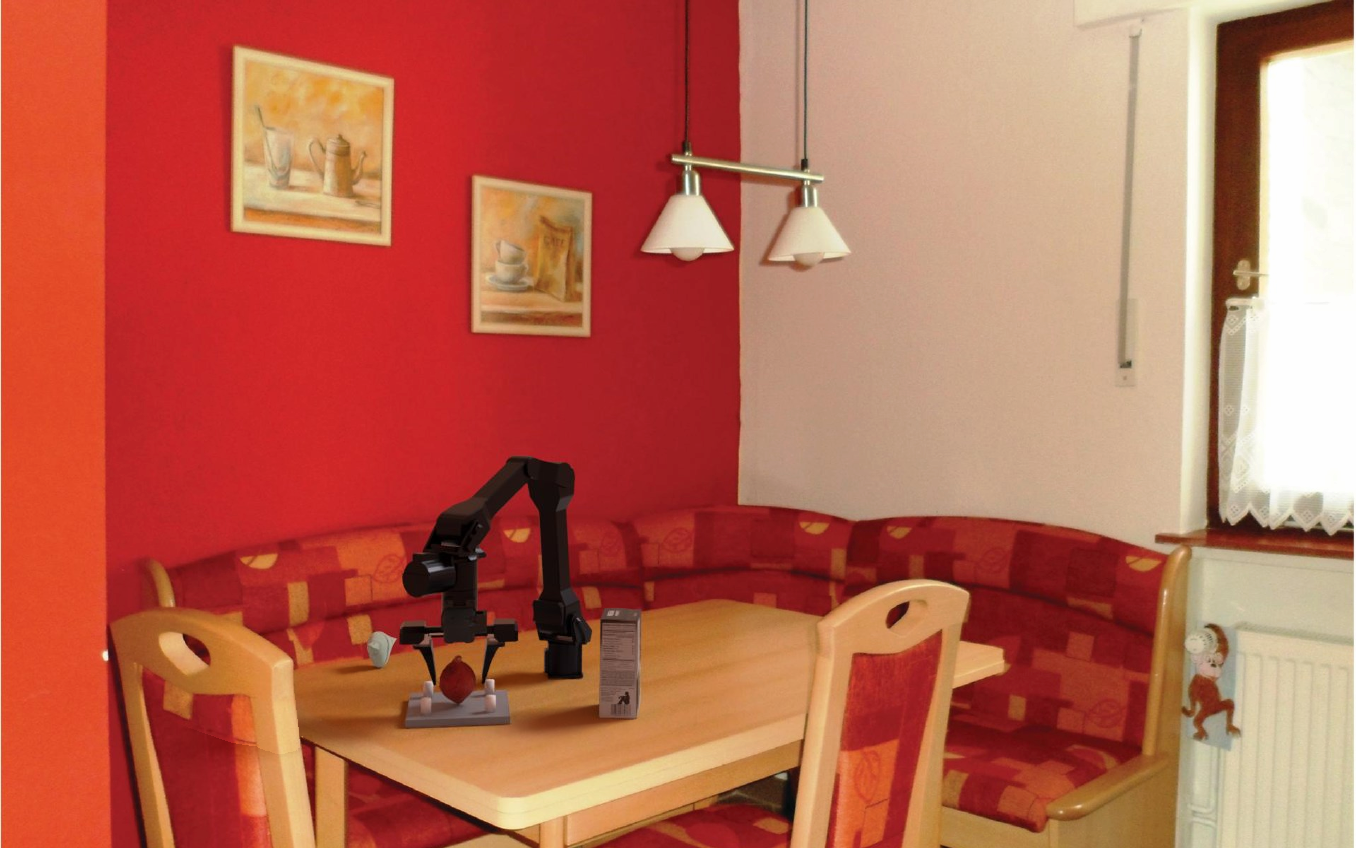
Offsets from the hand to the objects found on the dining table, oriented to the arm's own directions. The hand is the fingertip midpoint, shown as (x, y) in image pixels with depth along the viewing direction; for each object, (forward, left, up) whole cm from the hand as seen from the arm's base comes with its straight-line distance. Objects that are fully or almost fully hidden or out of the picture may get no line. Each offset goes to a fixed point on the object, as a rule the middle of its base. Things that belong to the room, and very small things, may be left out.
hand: (459, 684), depth 182 cm
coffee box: (-26, +3, -5) cm, 27 cm away
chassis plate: (0, 0, -4) cm, 4 cm away
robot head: (+15, -32, -5) cm, 36 cm away
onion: (0, 0, -3) cm, 3 cm away
